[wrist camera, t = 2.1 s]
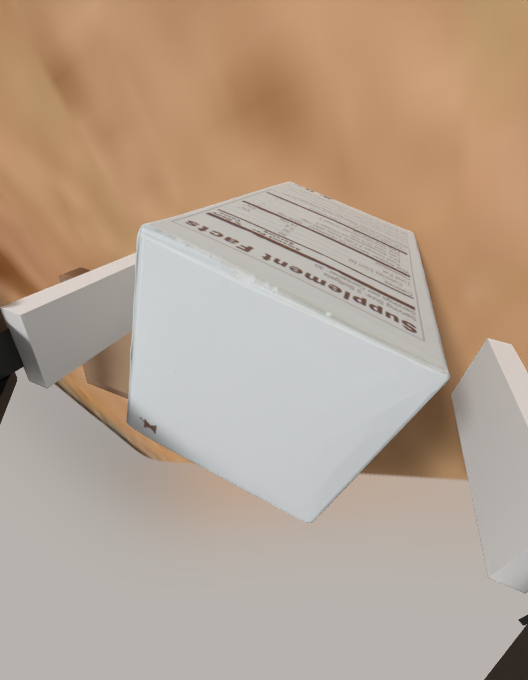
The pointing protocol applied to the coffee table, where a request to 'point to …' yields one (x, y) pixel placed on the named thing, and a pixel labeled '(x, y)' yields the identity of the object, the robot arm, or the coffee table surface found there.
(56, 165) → the coffee table surface
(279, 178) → the coffee table surface
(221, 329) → the supplement box
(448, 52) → the coffee table surface
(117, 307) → the robot arm
